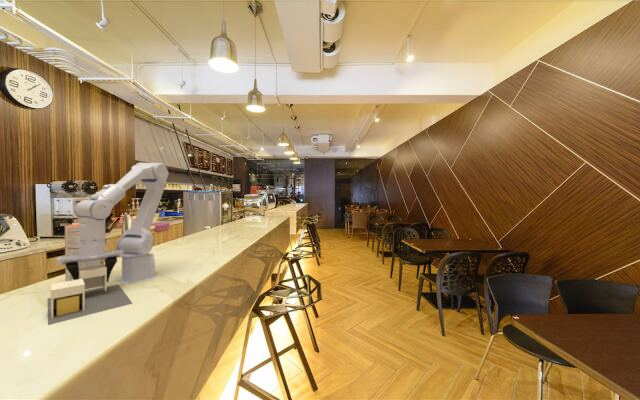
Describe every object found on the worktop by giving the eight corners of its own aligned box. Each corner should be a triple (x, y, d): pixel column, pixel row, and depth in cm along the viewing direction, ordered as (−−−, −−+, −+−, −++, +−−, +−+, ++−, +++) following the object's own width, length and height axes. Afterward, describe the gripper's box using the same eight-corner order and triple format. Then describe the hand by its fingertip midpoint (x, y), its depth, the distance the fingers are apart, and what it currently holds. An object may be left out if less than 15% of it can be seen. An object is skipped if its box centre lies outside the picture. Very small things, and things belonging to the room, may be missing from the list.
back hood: (103, 285, 78) (103, 263, 78) (106, 290, 74) (106, 267, 74) (77, 290, 74) (77, 267, 73) (79, 296, 70) (79, 271, 69)
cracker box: (84, 276, 90) (85, 220, 90) (105, 274, 93) (105, 220, 92) (63, 290, 77) (63, 225, 77) (87, 288, 80) (88, 224, 79)
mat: (118, 285, 82) (118, 284, 82) (132, 305, 69) (132, 303, 69) (47, 300, 70) (47, 298, 70) (47, 327, 57) (47, 325, 57)
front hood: (82, 303, 68) (82, 278, 68) (84, 310, 64) (84, 284, 64) (50, 310, 63) (51, 284, 63) (51, 318, 60) (51, 290, 59)
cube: (77, 305, 67) (77, 291, 66) (79, 310, 64) (79, 295, 64) (56, 310, 64) (56, 295, 63) (56, 315, 61) (56, 300, 61)
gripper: (57, 244, 65) (57, 294, 66) (125, 238, 76) (125, 281, 76) (56, 241, 70) (56, 287, 70) (121, 235, 81) (120, 276, 81)
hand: (92, 284), depth 74 cm, fingers closed on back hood, 6 cm apart
